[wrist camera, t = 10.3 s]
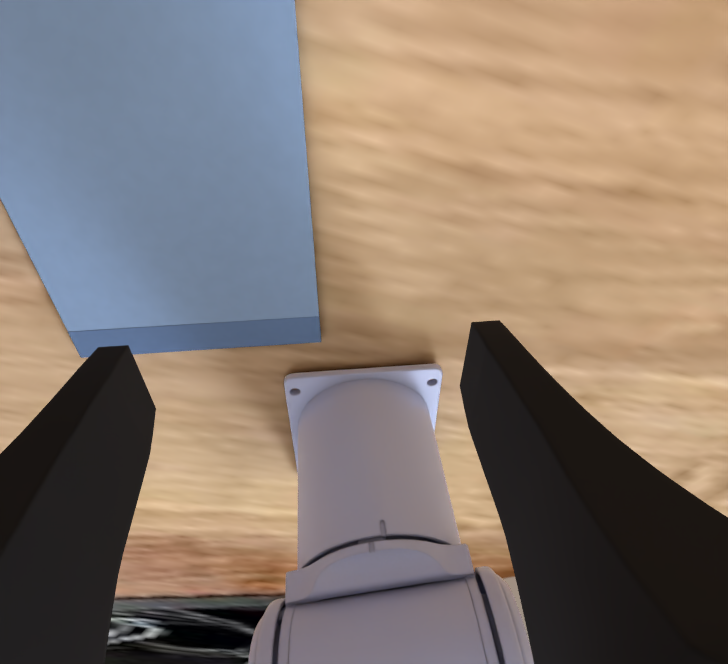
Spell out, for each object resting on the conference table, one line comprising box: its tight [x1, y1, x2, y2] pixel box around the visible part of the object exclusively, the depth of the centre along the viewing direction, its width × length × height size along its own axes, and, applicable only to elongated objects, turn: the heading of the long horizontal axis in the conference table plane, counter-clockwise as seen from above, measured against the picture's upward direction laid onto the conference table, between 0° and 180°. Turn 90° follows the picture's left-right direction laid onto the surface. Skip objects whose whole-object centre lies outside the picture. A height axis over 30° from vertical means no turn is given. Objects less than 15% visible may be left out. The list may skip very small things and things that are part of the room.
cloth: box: [0, 0, 321, 358], centre depth 18 cm, size 20×11×1 cm, turn 0°
